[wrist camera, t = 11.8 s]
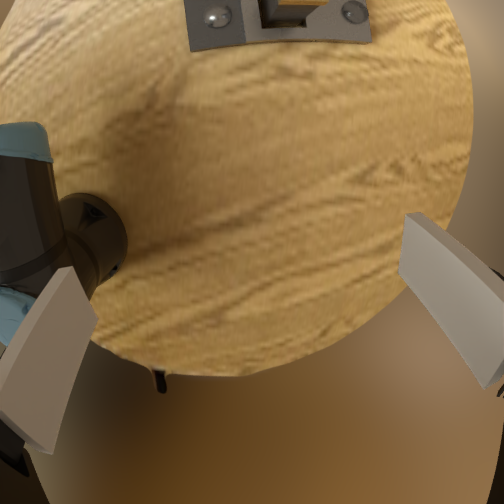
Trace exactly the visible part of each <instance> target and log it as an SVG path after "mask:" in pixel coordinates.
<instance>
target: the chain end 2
mask: <svg viewBox="0 0 504 504" xmlns="http://www.w3.org/2000/svg"><path fill="white" fill-rule="evenodd" d="M240 7H241V14H242V21H243V28H244V35H245V42H246V43H253V42H266V41H288V40H315V42H338V43H354V44H368V43H371V42H372V38H371V31H370V24H369V18H368V16H369V13H368V10H367V6H366V1H365V0H329V2H328V3H327V4H326V5H324V6H319V7H318V8H316V9H315V10H314V11H313V12H312V13H310V14H309V15H308V16H307V17H306V18H305V19H303V21H304V28H271V29H262V27H261V20H260V13H259V7H258V0H240Z"/></svg>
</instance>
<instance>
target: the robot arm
mask: <svg viewBox="0 0 504 504" xmlns="http://www.w3.org/2000/svg"><path fill="white" fill-rule="evenodd" d="M52 163H54V161H53V158H52V157H51V154H50V148H49V142H48V135H47V132H46V130H45V128H44V127H43V126H42V125H41V124H39V123H37V122H17V123H8V124H2V125H0V341H1V342H2V343H3V344H4V345H5V346H7V348H6V349H5V350H4V352H3V354H2V356H1V357H0V504H50V503H49V501H48V499H47V497H46V495H45V492H44V490H43V488H42V486H41V483H40V481H39V478H38V476H37V473H36V471H35V468H34V466H33V463H32V460H31V457H30V455H29V453H28V451H27V450H26V449H25V448H23V447H24V444H25V442H26V443H27V444H29V445H30V446H31V447H32V448H34V449H35V450H37V451H40V452H44V453H48V454H52V455H53V451H54V447H55V443H56V439H57V436H58V432H59V428H60V425H61V422H62V418H63V415H64V411H65V408H66V405H67V402H68V398H69V396H70V393H71V389H72V387H73V384H74V381H75V378H76V375H77V372H78V369H79V367H80V364H81V361H82V359H83V356H84V353H85V351H86V348H87V345H88V343H89V340H90V338H91V335H92V333H93V331H94V328H95V326H96V323H97V321H98V318H97V316H96V314H95V312H94V310H93V308H92V306H91V304H90V302H89V301H90V299H91V297H92V295H93V293H94V291H95V289H96V288H97V287H98V286H100V285H101V284H103V283H104V282H105V281H107V280H108V279H110V278H111V277H112V276H113V275H114V274H115V273H116V272H117V271H118V269H119V268H120V266H121V264H122V262H123V260H124V258H125V255H126V251H127V236H126V231H125V228H124V226H123V223H122V221H121V219H120V218H119V216H118V215H117V213H116V212H115V211H114V210H113V209H112V208H111V207H110V206H109V205H108V204H107V203H106V202H104V201H103V200H101V199H99V198H97V197H95V196H92V195H89V194H83V193H76V194H71V195H68V196H66V197H64V198H62V199H61V200H59V201H58V196H57V190H56V184H55V178H54V171H53V164H52ZM398 274H399V275H400V276H401V277H402V279H403V280H404V281H405V282H406V284H407V285H408V286H409V287H410V288H411V289H412V291H413V292H414V293H415V295H416V296H417V297H418V298H419V300H420V301H421V302H422V303H423V305H424V306H425V307H426V309H427V310H428V311H429V313H430V314H431V315H432V316H433V318H434V319H435V320H436V322H437V323H438V324H439V326H440V327H441V328H442V330H443V331H444V333H445V334H446V335H447V337H448V338H449V339H450V341H451V342H452V343H453V345H454V346H455V348H456V349H457V351H458V352H459V354H460V355H461V356H462V358H463V359H464V361H465V362H466V364H467V365H468V367H469V368H470V370H471V371H472V373H473V374H474V376H475V377H476V379H477V381H478V382H479V384H480V385H481V387H482V388H483V390H484V389H486V388H487V387H489V386H491V385H492V384H494V383H496V382H497V381H499V379H500V378H501V377H502V375H503V374H504V277H503V276H502V275H501V274H500V273H498V272H496V271H495V270H493V269H491V268H490V267H488V266H486V265H485V264H484V263H483V262H482V261H481V260H480V259H479V258H477V257H476V256H475V255H474V254H473V253H472V252H470V251H469V250H468V249H467V248H466V247H464V246H463V245H462V244H461V243H460V242H458V241H457V240H456V239H455V238H453V237H452V236H451V235H450V234H448V233H447V232H446V231H445V230H443V229H442V228H441V227H440V226H438V225H437V224H436V223H434V222H433V221H432V220H430V219H429V218H428V217H426V216H425V215H424V214H422V213H421V212H417V213H409V214H405V222H404V231H403V239H402V247H401V254H400V261H399V268H398ZM503 391H504V384H503V386H502V387H501V388H500V390H499V391H498V394H497V397H500V395H501V394H502V393H503ZM503 398H504V396H503ZM487 504H504V425H503V432H502V439H501V445H500V451H499V456H498V461H497V466H496V471H495V475H494V479H493V483H492V487H491V490H490V494H489V497H488V501H487Z"/></svg>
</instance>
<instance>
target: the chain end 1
mask: <svg viewBox="0 0 504 504" xmlns="http://www.w3.org/2000/svg"><path fill="white" fill-rule="evenodd" d="M184 5H185V13H186V22H187V29H188V37H189V45H190V51H191V52H196V51H202V50H208V49H214V48H221V47H229V46H238V45H248V44H259V43H275V42H312V41H314V40H288V41H266V42H253V43H246V42H245V35H244V28H243V21H242V14H241V7H240V0H184ZM301 25H302V28H304V21H303V20H302V21H301Z"/></svg>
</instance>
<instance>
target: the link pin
mask: <svg viewBox="0 0 504 504" xmlns="http://www.w3.org/2000/svg"><path fill="white" fill-rule="evenodd" d="M328 2H329V0H261V8H262V15H263V22H264V28H265V27H295V26H297V25H298V24H299V23H300V22H301V21H302V20H303V19H305V18H306V17H307V16H308V15H309V14H310V13H312V12H313V11H314V10H315V9H316V8H318V7H319V6H324V5H326V4H327V3H328Z"/></svg>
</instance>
